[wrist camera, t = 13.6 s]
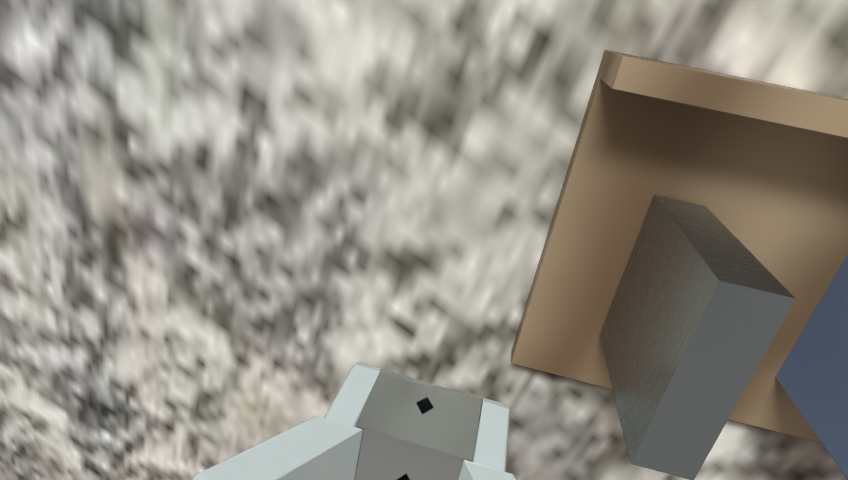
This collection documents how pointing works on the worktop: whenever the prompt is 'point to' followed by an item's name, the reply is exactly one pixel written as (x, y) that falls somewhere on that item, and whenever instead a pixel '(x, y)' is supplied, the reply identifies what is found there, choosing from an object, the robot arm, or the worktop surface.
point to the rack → (700, 184)
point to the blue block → (823, 369)
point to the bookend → (686, 334)
